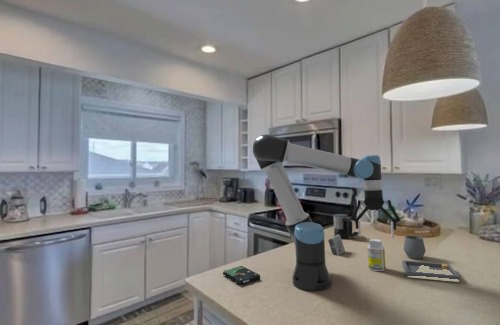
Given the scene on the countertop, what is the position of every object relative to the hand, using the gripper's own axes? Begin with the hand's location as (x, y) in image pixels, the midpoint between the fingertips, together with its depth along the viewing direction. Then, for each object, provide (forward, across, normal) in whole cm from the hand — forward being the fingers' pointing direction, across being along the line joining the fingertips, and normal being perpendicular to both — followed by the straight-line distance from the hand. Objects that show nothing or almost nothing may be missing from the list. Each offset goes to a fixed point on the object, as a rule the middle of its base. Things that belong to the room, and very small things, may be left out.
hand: (376, 236), depth 126 cm
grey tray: (+15, -20, 0) cm, 24 cm away
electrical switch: (+15, +20, -20) cm, 31 cm away
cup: (+15, -18, -22) cm, 32 cm away
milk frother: (+15, +16, -57) cm, 61 cm away
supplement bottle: (+15, 0, 0) cm, 15 cm away
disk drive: (+14, +55, +27) cm, 63 cm away
